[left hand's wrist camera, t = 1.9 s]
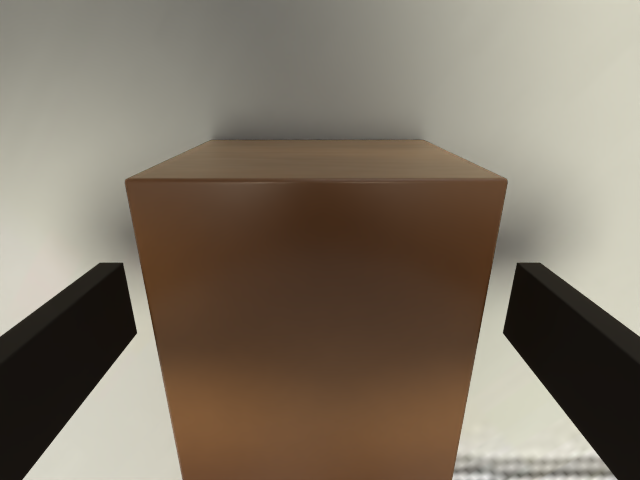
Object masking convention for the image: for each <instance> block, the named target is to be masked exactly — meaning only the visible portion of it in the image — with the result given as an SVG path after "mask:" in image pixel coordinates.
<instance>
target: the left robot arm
mask: <svg viewBox="0 0 640 480" xmlns="http://www.w3.org/2000/svg"><path fill="white" fill-rule="evenodd" d="M136 334H137V330H136V325H135V320H134V315H133V310H132V305H131V300H130V295H129V290H128V285H127V280H126V275H125V270H124V265H123V263H99V264H98V265H96V266H95V267H94V268H92V269H91V270H90V271H88V272H87V273H85V274H84V275H83V276H81V277H80V278H79V279H77V280H76V281H75V282H73V283H72V284H71V285H69V286H68V287H67V288H65V289H64V290H63V291H61V292H60V293H59V294H57V295H56V296H54V297H53V298H52V299H50V300H49V301H48V302H46V303H45V304H44V305H42V306H41V307H40V308H38V309H37V310H36V311H34V312H33V313H32V314H30V315H29V316H28V317H26V318H25V319H24V320H22V321H21V322H19V323H18V324H17V325H15V326H14V327H13V328H11V329H10V330H9V331H7V332H6V333H5V334H3V335H2V336H1V337H0V480H22V479H23V478H24V477H25V476H26V474H27V473H28V472H29V471H30V469H31V468H32V467H33V465H34V464H35V463H36V462H37V460H38V459H39V458H40V456H41V455H42V454H43V453H44V451H45V450H46V449H47V448H48V446H49V445H50V444H51V442H52V441H53V440H54V439H55V437H56V436H57V435H58V433H59V432H60V431H61V430H62V428H63V427H64V426H65V425H66V423H67V422H68V421H69V419H70V418H71V417H72V416H73V414H74V413H75V412H76V410H77V409H78V408H79V407H80V405H81V404H82V403H83V402H84V400H85V399H86V398H87V396H88V395H89V394H90V393H91V391H92V390H93V389H94V387H95V386H96V385H97V384H98V382H99V381H100V380H101V379H102V377H103V376H104V375H105V373H106V372H107V371H108V370H109V368H110V367H111V366H112V364H113V363H114V362H115V361H116V359H117V358H118V357H119V356H120V354H121V353H122V352H123V350H124V349H125V348H126V347H127V345H128V344H129V343H130V341H131V340H132V339H133V338H134V336H135V335H136ZM503 334H504V335H505V336H506V338H507V339H508V340H509V341H510V343H511V344H512V345H513V347H514V348H515V349H516V350H517V352H518V353H519V354H520V356H521V357H522V358H523V359H524V361H525V362H526V363H527V364H528V366H529V367H530V368H531V370H532V371H533V372H534V373H535V375H536V376H537V377H538V379H539V380H540V381H541V382H542V384H543V385H544V386H545V387H546V389H547V390H548V391H549V393H550V394H551V395H552V396H553V398H554V399H555V400H556V402H557V403H558V404H559V405H560V407H561V408H562V409H563V410H564V412H565V413H566V414H567V416H568V417H569V418H570V419H571V421H572V422H573V423H574V425H575V426H576V427H577V428H578V430H579V431H580V432H581V433H582V435H583V436H584V437H585V439H586V440H587V441H588V442H589V444H590V445H591V446H592V448H593V449H594V450H595V451H596V453H597V454H598V455H599V456H600V458H601V459H602V460H603V462H604V463H605V464H606V465H607V467H608V468H609V469H610V471H611V472H612V473H613V474H614V476H615V477H616V478H617V479H618V480H640V337H639V336H638V335H637V334H635V333H634V332H633V331H631V330H630V329H629V328H627V327H626V326H625V325H623V324H622V323H621V322H619V321H618V320H616V319H615V318H614V317H612V316H611V315H610V314H608V313H607V312H606V311H604V310H603V309H602V308H600V307H599V306H598V305H596V304H595V303H594V302H592V301H591V300H590V299H588V298H587V297H586V296H584V295H583V294H581V293H580V292H579V291H577V290H576V289H575V288H573V287H572V286H571V285H569V284H568V283H567V282H565V281H564V280H563V279H561V278H560V277H559V276H557V275H556V274H555V273H553V272H552V271H550V270H549V269H548V268H546V267H545V266H544V265H542V264H541V263H517V265H516V270H515V275H514V280H513V285H512V290H511V295H510V300H509V305H508V310H507V315H506V320H505V325H504V330H503Z"/></svg>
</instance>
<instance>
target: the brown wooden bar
mask: <svg viewBox="0 0 640 480" xmlns="http://www.w3.org/2000/svg"><path fill="white" fill-rule="evenodd" d="M507 183H508V182H507V179H506V178H504V177H501V176H499V175H497V174H495V173H493V172H491V171H489V170H486V169H484V168H482V167H480V166H478V165H476V164H474V163H472V162H469V161H467V160H465V159H463V158H461V157H459V156H457V155H455V154H452V153H450V152H448V151H446V150H444V149H442V148H440V147H438V146H435V145H433V144H431V143H429V142H427V141H425V140H210V141H208V142H206V143H203V144H201V145H199V146H197V147H195V148H193V149H190V150H188V151H186V152H184V153H182V154H180V155H177V156H175V157H173V158H171V159H169V160H167V161H164V162H162V163H160V164H158V165H156V166H154V167H151V168H149V169H147V170H145V171H143V172H140V173H138V174H136V175H134V176H132V177H130V178H127V179H126V180H125V186H126V192H127V197H128V202H129V207H130V212H131V217H132V222H133V228H134V233H135V238H136V243H137V248H138V253H139V258H140V263H141V269H142V274H143V279H144V284H145V289H146V294H147V299H148V305H149V310H150V315H151V320H152V325H153V330H154V335H155V340H156V346H157V351H158V356H159V361H160V366H161V371H162V376H163V382H164V387H165V392H166V397H167V402H168V407H169V412H170V417H171V423H172V428H173V433H174V438H175V443H176V448H177V453H178V458H179V464H180V469H181V474H182V479H183V480H452V477H453V471H454V466H455V461H456V455H457V450H458V445H459V439H460V434H461V429H462V423H463V418H464V413H465V407H466V402H467V397H468V391H469V386H470V381H471V375H472V370H473V365H474V359H475V354H476V349H477V343H478V338H479V333H480V327H481V322H482V317H483V311H484V306H485V301H486V295H487V290H488V285H489V279H490V274H491V269H492V263H493V258H494V252H495V247H496V242H497V236H498V231H499V226H500V220H501V215H502V210H503V204H504V199H505V194H506V188H507Z"/></svg>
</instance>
